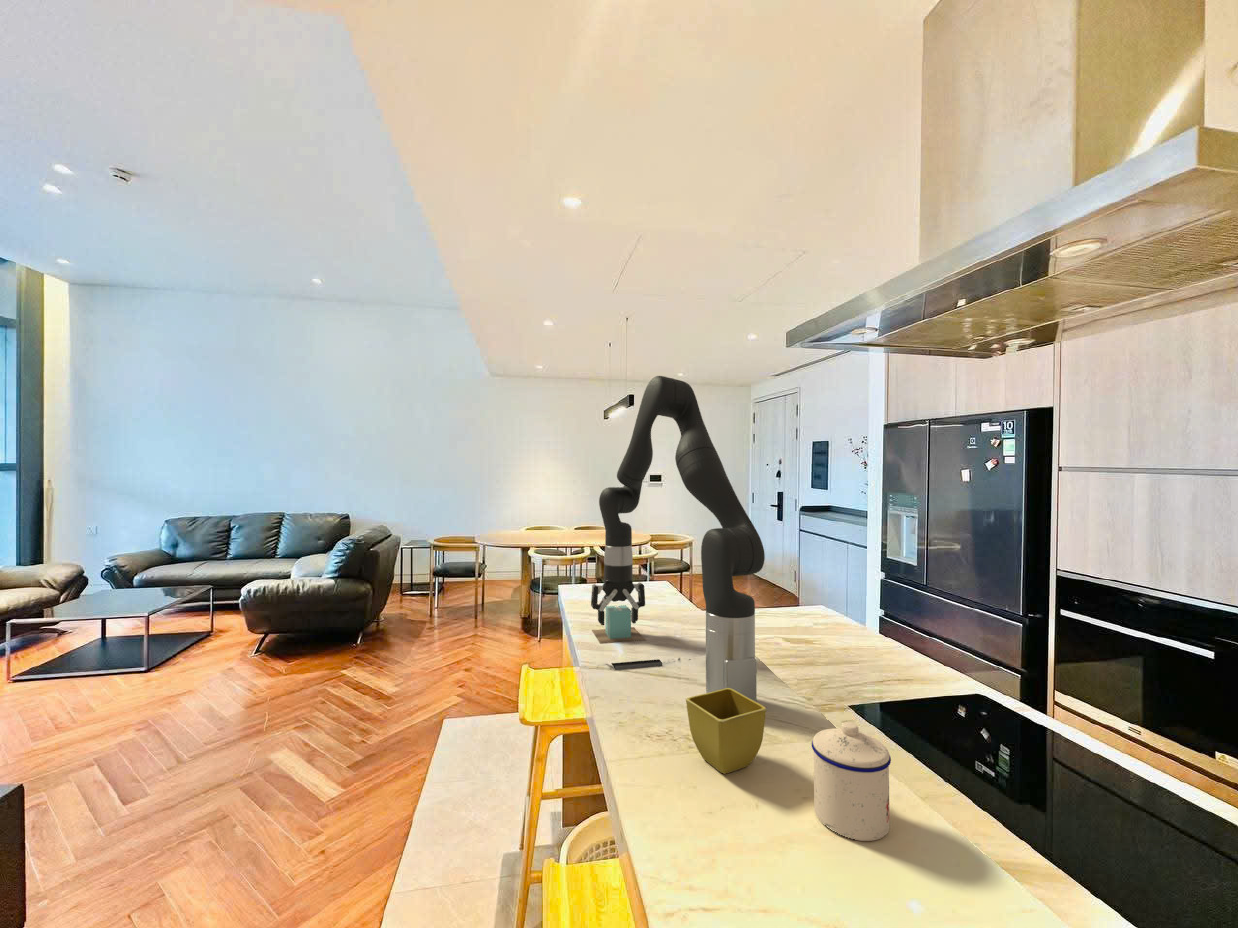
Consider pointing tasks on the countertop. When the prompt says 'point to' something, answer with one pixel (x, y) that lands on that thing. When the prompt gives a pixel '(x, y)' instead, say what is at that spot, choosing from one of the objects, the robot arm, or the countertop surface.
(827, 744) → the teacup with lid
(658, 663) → the mat
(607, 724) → the countertop surface
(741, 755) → the flower pot
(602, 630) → the post base
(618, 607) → the striped teal box
